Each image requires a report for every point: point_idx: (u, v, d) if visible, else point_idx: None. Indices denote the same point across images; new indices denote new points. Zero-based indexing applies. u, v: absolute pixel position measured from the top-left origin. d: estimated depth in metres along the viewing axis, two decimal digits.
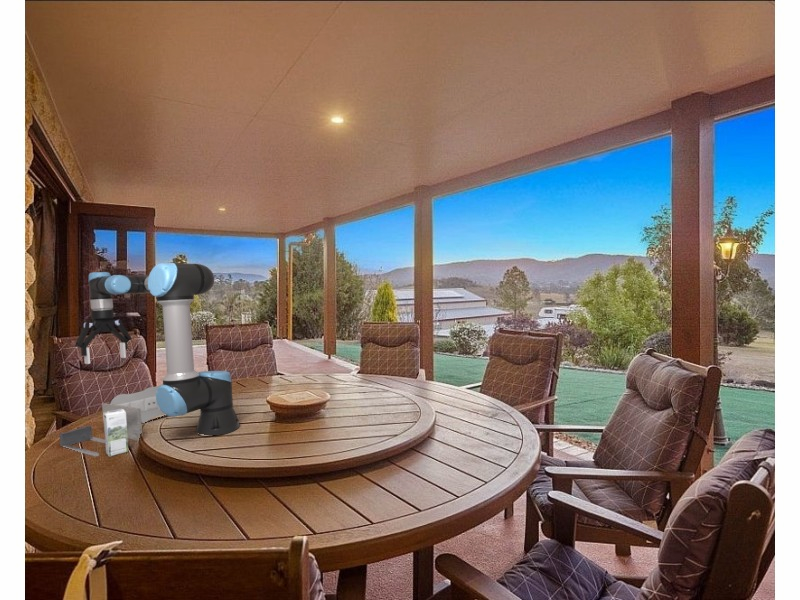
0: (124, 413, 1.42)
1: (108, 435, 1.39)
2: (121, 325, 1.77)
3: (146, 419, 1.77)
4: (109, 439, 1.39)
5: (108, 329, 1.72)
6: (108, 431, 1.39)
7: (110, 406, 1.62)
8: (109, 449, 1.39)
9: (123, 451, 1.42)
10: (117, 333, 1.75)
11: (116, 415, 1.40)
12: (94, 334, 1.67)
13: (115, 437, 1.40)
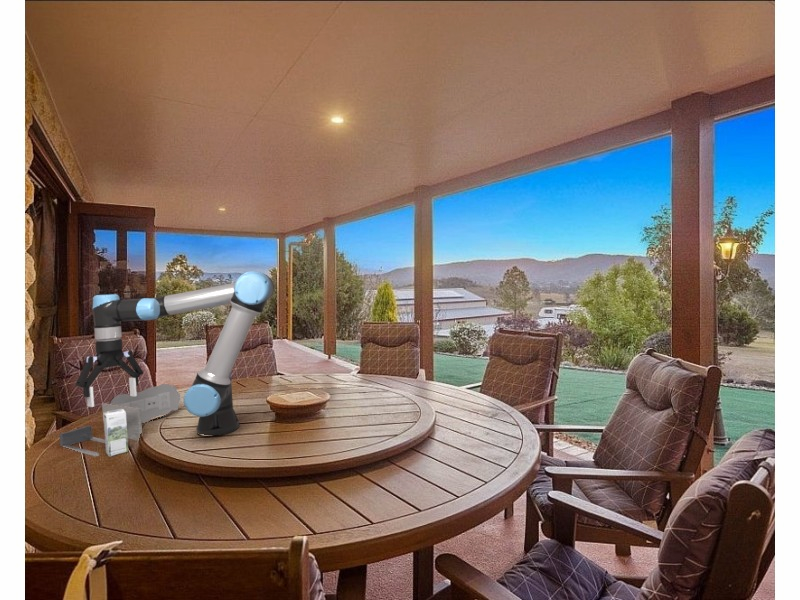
0: (124, 413, 1.42)
1: (108, 435, 1.39)
2: (131, 357, 1.47)
3: (146, 419, 1.77)
4: (109, 439, 1.39)
5: (116, 363, 1.43)
6: (108, 431, 1.39)
7: (110, 406, 1.62)
8: (109, 449, 1.39)
9: (123, 451, 1.42)
10: (126, 367, 1.46)
11: (116, 415, 1.40)
12: (99, 370, 1.38)
13: (115, 437, 1.40)
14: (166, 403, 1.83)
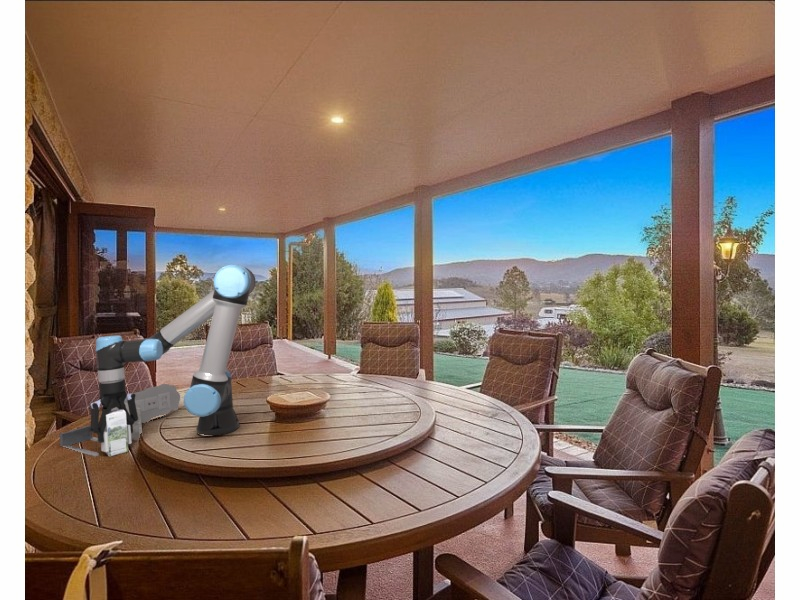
0: (124, 413, 1.42)
1: (108, 435, 1.39)
2: (132, 400, 1.47)
3: (146, 419, 1.77)
4: (109, 439, 1.39)
5: (119, 404, 1.43)
6: (108, 431, 1.39)
7: None
8: (109, 449, 1.39)
9: (123, 451, 1.42)
10: (125, 411, 1.45)
11: (116, 415, 1.40)
12: None
13: (115, 437, 1.40)
14: (166, 403, 1.83)
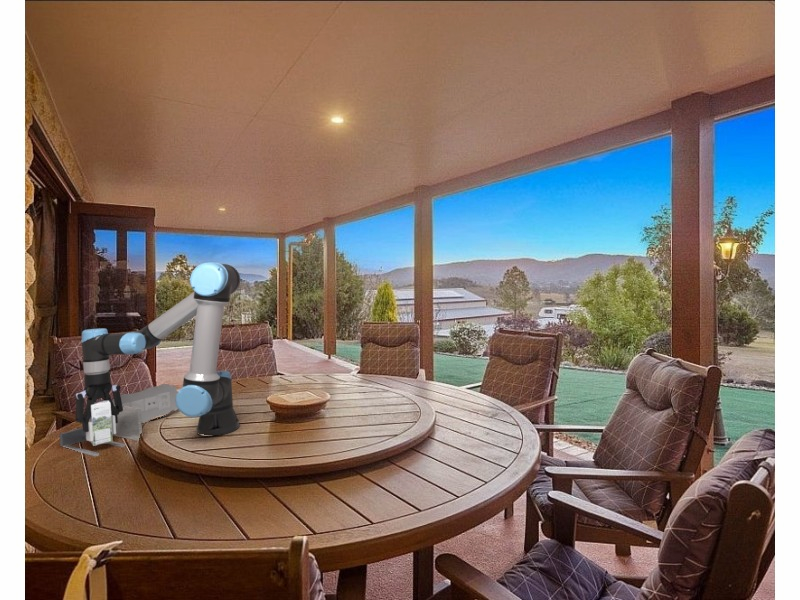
0: (109, 404, 1.46)
1: (93, 425, 1.43)
2: (117, 392, 1.51)
3: (146, 419, 1.77)
4: (94, 429, 1.43)
5: (104, 395, 1.47)
6: (93, 421, 1.43)
7: None
8: (94, 438, 1.43)
9: (107, 440, 1.46)
10: (110, 402, 1.49)
11: (101, 405, 1.45)
12: (92, 404, 1.44)
13: (100, 427, 1.44)
14: (166, 403, 1.83)
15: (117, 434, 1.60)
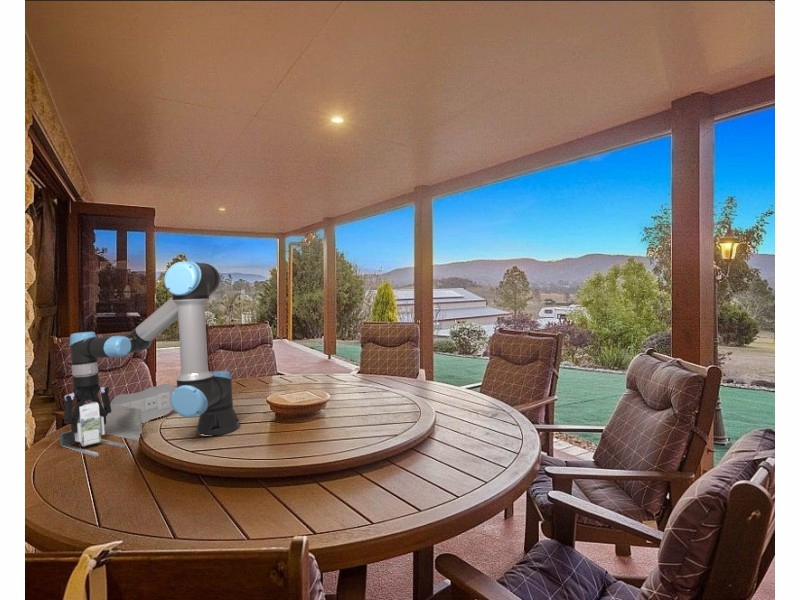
0: (97, 405, 1.50)
1: (81, 426, 1.47)
2: (106, 393, 1.55)
3: (146, 419, 1.77)
4: (82, 430, 1.47)
5: (92, 397, 1.51)
6: (81, 422, 1.47)
7: None
8: (82, 439, 1.47)
9: (96, 441, 1.50)
10: (98, 403, 1.52)
11: (89, 407, 1.48)
12: (80, 406, 1.47)
13: (88, 428, 1.48)
14: (166, 403, 1.83)
15: (117, 434, 1.60)
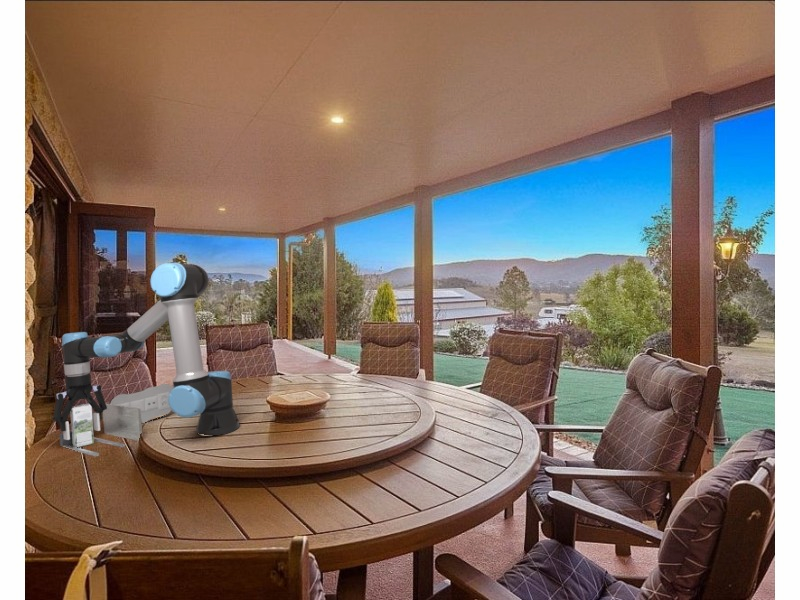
0: (90, 407, 1.53)
1: (74, 428, 1.49)
2: (99, 392, 1.57)
3: (146, 419, 1.77)
4: (75, 431, 1.49)
5: (85, 396, 1.53)
6: (74, 424, 1.49)
7: (110, 406, 1.62)
8: (75, 441, 1.50)
9: (89, 443, 1.52)
10: (92, 401, 1.55)
11: (82, 409, 1.51)
12: (71, 404, 1.49)
13: (81, 430, 1.51)
14: (166, 403, 1.83)
15: (117, 434, 1.60)
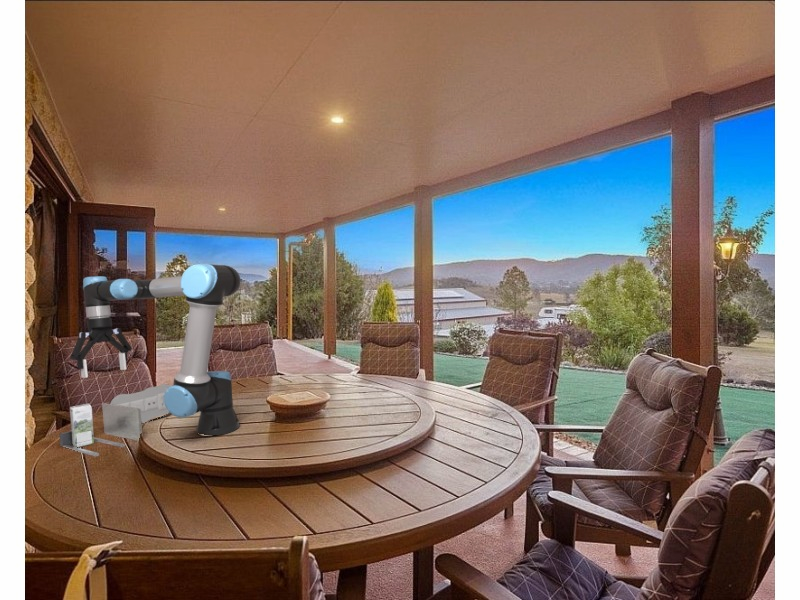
0: (90, 407, 1.53)
1: (74, 428, 1.49)
2: (120, 334, 1.62)
3: (146, 419, 1.77)
4: (75, 431, 1.49)
5: (106, 339, 1.57)
6: (74, 424, 1.49)
7: (110, 406, 1.62)
8: (75, 441, 1.50)
9: (89, 443, 1.52)
10: (116, 343, 1.60)
11: (82, 409, 1.51)
12: (91, 345, 1.52)
13: (81, 430, 1.51)
14: None
15: (117, 434, 1.60)
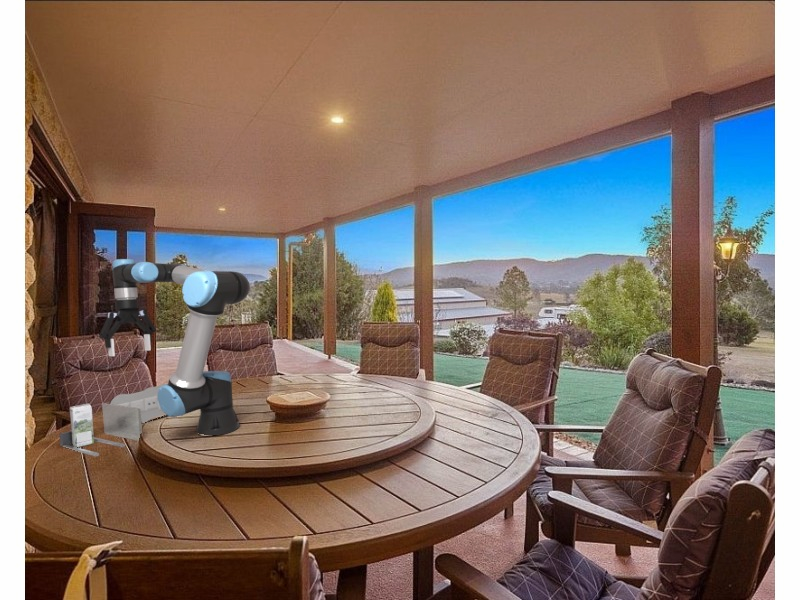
0: (90, 407, 1.53)
1: (74, 428, 1.49)
2: (146, 316, 1.67)
3: (146, 419, 1.77)
4: (75, 431, 1.49)
5: (133, 320, 1.62)
6: (74, 424, 1.49)
7: (110, 406, 1.62)
8: (75, 441, 1.50)
9: (89, 443, 1.52)
10: (142, 324, 1.65)
11: (82, 409, 1.51)
12: (118, 325, 1.58)
13: (81, 430, 1.51)
14: None
15: (117, 434, 1.60)
